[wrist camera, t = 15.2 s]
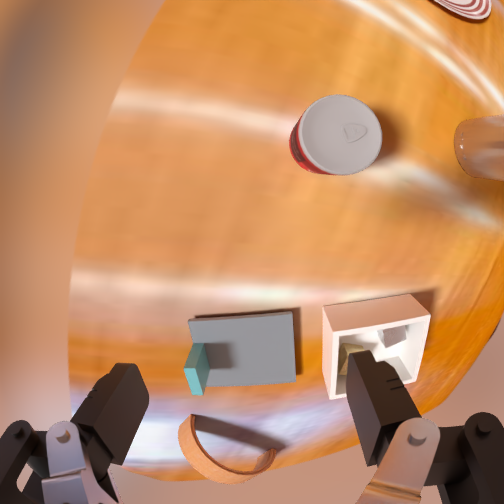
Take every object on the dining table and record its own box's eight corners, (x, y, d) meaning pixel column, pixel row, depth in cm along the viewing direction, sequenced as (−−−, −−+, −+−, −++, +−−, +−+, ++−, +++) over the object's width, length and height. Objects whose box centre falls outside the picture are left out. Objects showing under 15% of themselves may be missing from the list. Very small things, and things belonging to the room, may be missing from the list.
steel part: (395, 309, 38) (404, 320, 35) (397, 327, 39) (406, 339, 36) (374, 318, 39) (382, 330, 35) (378, 336, 40) (385, 348, 36)
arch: (260, 459, 51) (258, 494, 41) (179, 425, 48) (167, 462, 39) (276, 448, 49) (276, 486, 40) (191, 412, 47) (180, 452, 37)
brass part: (362, 345, 40) (368, 358, 37) (353, 363, 41) (359, 376, 38) (342, 342, 40) (348, 355, 37) (334, 360, 41) (338, 374, 38)
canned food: (360, 154, 33) (397, 149, 23) (310, 186, 35) (330, 192, 24) (328, 104, 32) (352, 80, 21) (276, 135, 33) (281, 120, 23)
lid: (291, 307, 40) (296, 337, 32) (295, 373, 43) (299, 408, 36) (191, 314, 41) (176, 344, 33) (207, 378, 44) (198, 412, 37)
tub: (409, 293, 38) (430, 314, 32) (400, 356, 42) (415, 381, 35) (322, 306, 39) (332, 332, 33) (322, 370, 43) (329, 399, 36)
